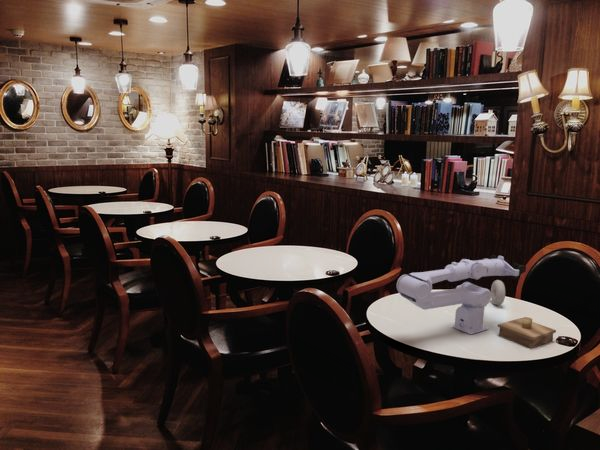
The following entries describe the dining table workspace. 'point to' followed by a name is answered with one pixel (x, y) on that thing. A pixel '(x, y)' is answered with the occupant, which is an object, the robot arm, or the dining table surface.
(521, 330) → the lid
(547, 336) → the box
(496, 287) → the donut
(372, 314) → the dining table surface
